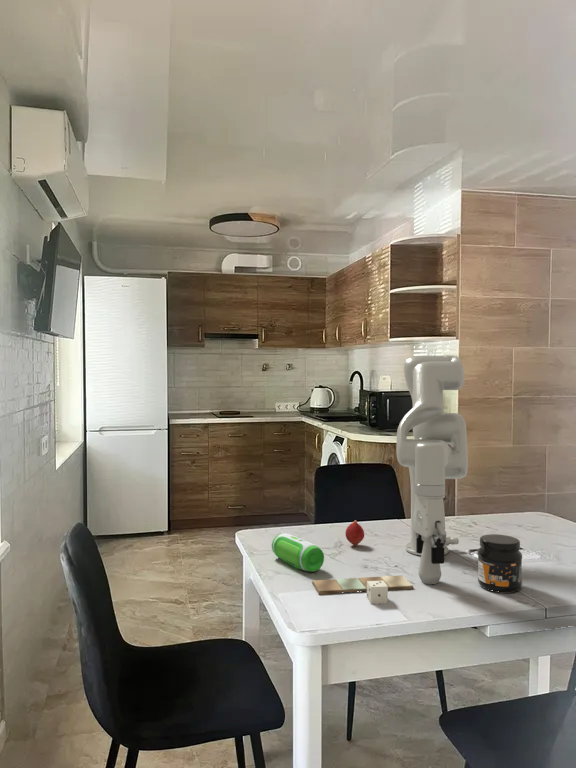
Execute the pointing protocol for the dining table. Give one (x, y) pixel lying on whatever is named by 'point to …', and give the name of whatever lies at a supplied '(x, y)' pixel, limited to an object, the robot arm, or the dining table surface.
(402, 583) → the track
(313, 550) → the speaker
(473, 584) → the dining table surface
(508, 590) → the supplement container
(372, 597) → the die
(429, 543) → the salt shaker
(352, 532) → the onion
